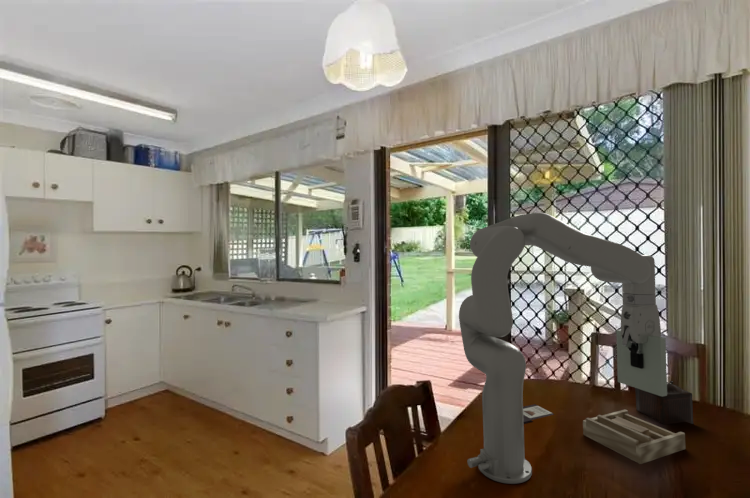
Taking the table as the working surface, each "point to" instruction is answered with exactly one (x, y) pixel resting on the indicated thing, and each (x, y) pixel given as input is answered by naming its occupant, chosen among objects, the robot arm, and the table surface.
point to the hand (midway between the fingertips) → (640, 366)
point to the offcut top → (632, 426)
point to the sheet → (654, 366)
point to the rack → (633, 437)
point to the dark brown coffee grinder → (666, 405)
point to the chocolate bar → (534, 413)
